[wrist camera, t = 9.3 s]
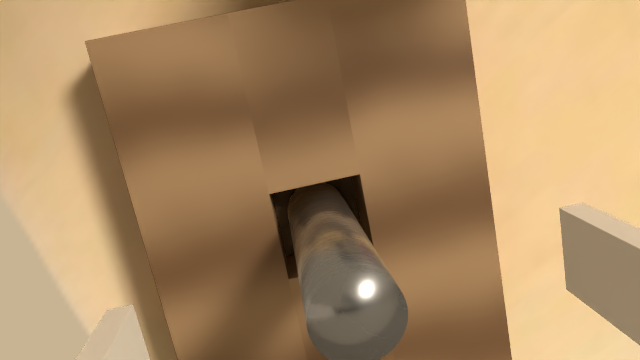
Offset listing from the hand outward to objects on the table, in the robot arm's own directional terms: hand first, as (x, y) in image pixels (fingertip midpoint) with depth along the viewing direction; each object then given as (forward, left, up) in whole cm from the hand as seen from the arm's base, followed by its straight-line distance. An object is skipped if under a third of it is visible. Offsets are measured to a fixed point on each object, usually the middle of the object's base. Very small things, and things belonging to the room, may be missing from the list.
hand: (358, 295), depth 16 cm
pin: (0, 0, -11) cm, 11 cm away
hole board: (0, 0, -11) cm, 11 cm away
